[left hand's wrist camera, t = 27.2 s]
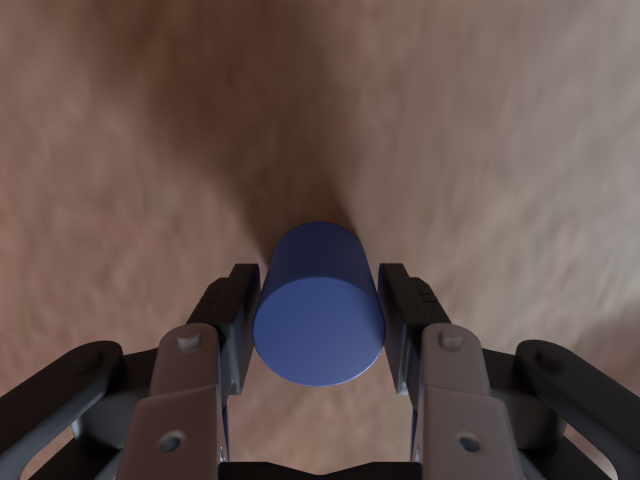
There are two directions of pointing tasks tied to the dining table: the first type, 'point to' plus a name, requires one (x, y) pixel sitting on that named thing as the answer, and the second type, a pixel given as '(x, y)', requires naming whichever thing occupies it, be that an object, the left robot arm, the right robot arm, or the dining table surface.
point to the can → (318, 308)
